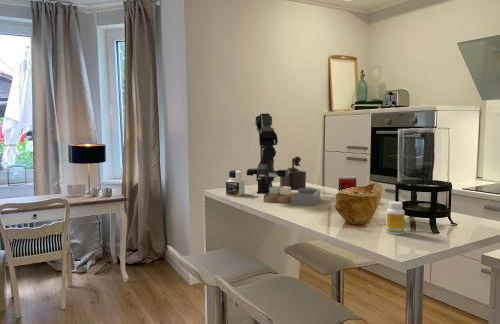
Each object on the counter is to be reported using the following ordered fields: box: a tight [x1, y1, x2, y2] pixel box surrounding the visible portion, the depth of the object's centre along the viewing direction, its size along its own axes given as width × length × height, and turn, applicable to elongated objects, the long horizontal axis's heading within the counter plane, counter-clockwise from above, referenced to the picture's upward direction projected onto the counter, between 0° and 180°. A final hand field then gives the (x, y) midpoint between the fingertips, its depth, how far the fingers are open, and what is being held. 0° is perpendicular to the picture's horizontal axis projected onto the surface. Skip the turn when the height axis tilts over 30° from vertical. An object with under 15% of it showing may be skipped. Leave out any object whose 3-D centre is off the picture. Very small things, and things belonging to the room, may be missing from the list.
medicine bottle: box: [225, 169, 246, 197], centre depth 193 cm, size 7×7×12 cm
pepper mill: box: [279, 156, 307, 191], centre depth 210 cm, size 16×11×18 cm
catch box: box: [290, 188, 321, 206], centre depth 174 cm, size 10×15×4 cm, turn 160°
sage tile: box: [270, 185, 280, 194], centre depth 179 cm, size 4×4×3 cm
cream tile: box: [280, 187, 292, 195], centre depth 177 cm, size 4×4×3 cm
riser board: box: [263, 191, 298, 204], centre depth 178 cm, size 13×12×3 cm
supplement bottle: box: [385, 200, 406, 236], centre depth 123 cm, size 5×5×10 cm
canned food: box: [337, 174, 357, 193], centre depth 177 cm, size 8×8×11 cm
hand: (267, 191), depth 180 cm, fingers closed
